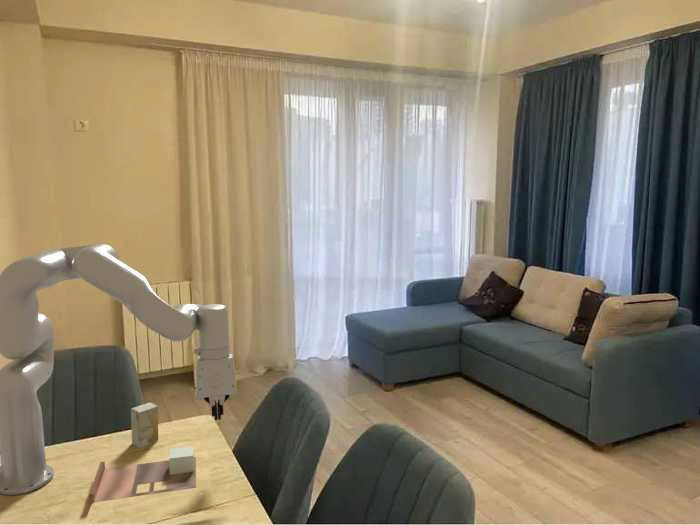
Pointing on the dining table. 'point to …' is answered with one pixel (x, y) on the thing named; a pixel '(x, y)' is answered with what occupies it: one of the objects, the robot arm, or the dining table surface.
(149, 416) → the skincare box
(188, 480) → the track
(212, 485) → the dining table surface
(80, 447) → the dining table surface
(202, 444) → the dining table surface
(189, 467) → the sage block
